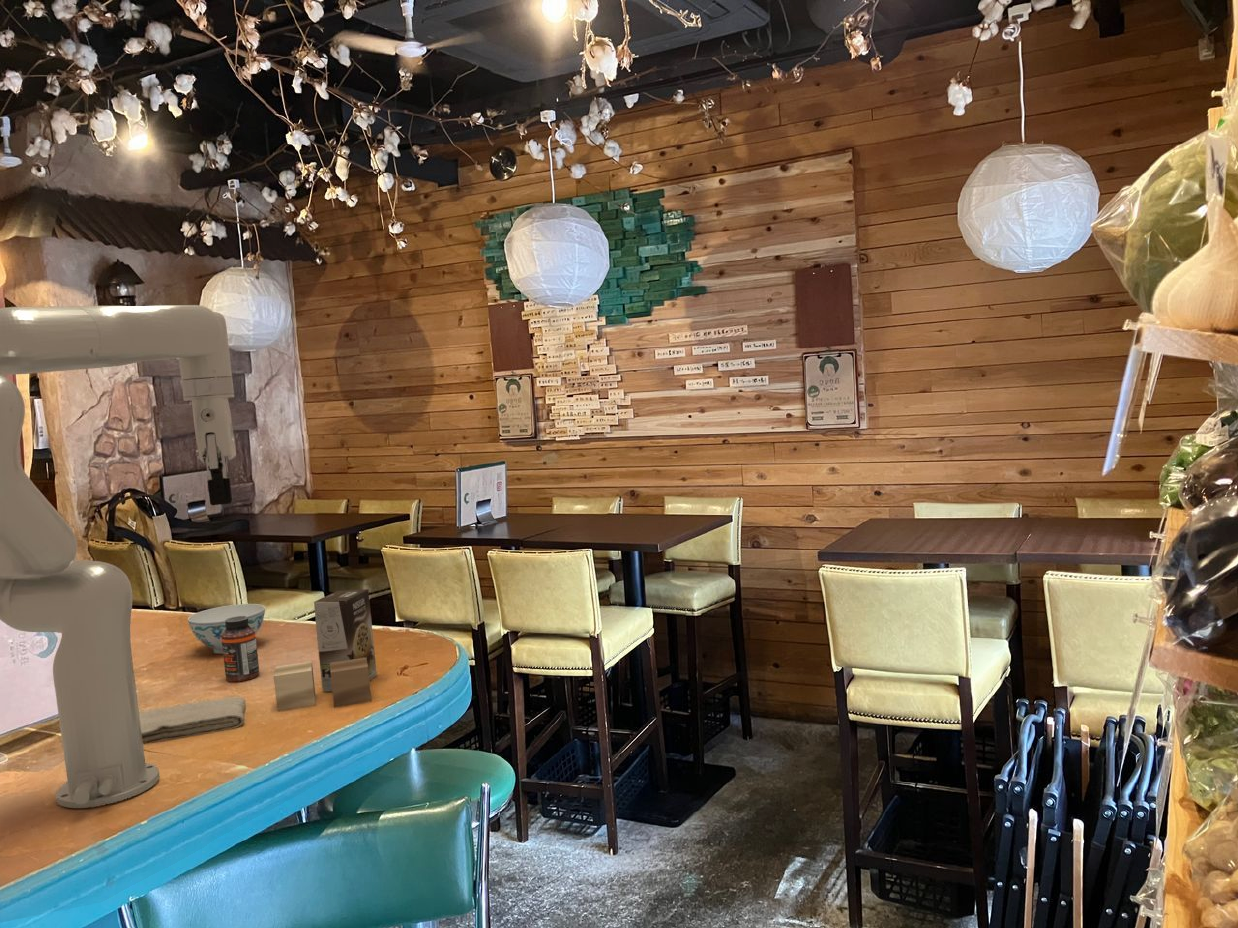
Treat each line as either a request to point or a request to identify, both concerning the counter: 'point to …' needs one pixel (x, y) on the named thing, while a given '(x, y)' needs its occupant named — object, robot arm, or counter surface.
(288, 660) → the counter surface
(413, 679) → the counter surface
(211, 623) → the chinaware
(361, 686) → the walnut cube
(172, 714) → the washcloth
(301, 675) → the beech cube
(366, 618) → the coffee box
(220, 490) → the robot arm
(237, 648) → the supplement bottle
